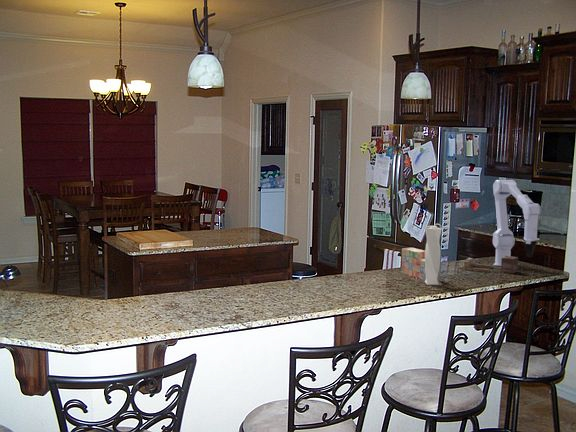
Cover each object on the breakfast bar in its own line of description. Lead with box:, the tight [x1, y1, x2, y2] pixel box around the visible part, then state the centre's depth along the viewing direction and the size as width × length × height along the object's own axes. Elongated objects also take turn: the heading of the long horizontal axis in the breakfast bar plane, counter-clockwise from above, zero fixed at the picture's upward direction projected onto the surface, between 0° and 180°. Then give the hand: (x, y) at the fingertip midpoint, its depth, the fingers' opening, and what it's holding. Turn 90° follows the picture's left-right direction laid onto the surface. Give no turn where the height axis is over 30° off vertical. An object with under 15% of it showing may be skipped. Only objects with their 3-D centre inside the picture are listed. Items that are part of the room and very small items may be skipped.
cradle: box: [463, 257, 494, 273], centre depth 324 cm, size 12×12×5 cm
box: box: [500, 256, 519, 274], centre depth 317 cm, size 6×6×7 cm
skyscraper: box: [423, 223, 443, 286], centre depth 289 cm, size 8×8×28 cm
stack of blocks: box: [401, 247, 426, 281], centre depth 305 cm, size 21×6×12 cm, turn 25°
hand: (529, 256), depth 312 cm, fingers closed
